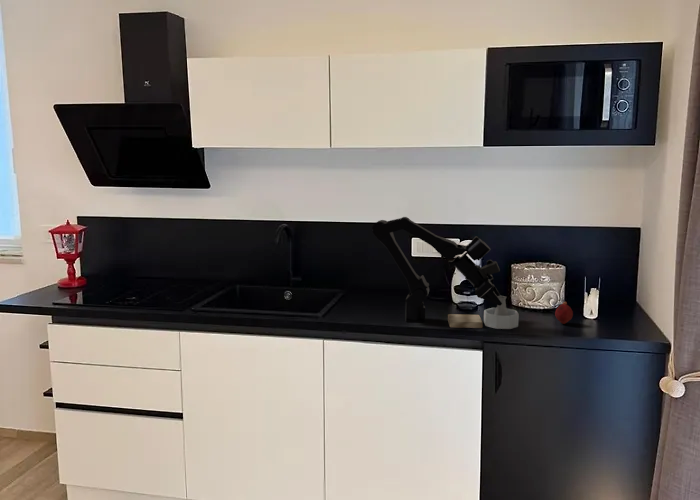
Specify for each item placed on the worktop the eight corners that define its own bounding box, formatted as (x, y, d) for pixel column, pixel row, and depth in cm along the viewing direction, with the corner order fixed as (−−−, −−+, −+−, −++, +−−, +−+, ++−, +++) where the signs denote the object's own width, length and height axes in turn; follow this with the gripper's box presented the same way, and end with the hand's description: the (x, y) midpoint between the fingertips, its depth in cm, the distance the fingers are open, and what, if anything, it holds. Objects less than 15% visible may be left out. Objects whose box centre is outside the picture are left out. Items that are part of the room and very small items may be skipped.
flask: (495, 320, 228) (496, 293, 227) (514, 324, 224) (515, 296, 222) (486, 325, 223) (487, 297, 221) (505, 328, 218) (506, 300, 217)
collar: (486, 328, 218) (487, 315, 217) (482, 319, 229) (482, 307, 229) (519, 329, 217) (520, 316, 217) (514, 320, 228) (514, 308, 228)
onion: (562, 327, 220) (563, 304, 219) (551, 322, 225) (552, 300, 224) (575, 325, 222) (577, 302, 221) (564, 321, 227) (565, 299, 226)
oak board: (450, 327, 220) (450, 321, 219) (447, 319, 230) (447, 314, 229) (482, 327, 219) (482, 322, 219) (478, 320, 229) (478, 314, 228)
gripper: (486, 258, 212) (519, 292, 211) (486, 249, 230) (517, 280, 229) (461, 280, 214) (494, 314, 214) (463, 270, 232) (494, 301, 232)
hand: (500, 301), depth 222 cm, fingers open, 9 cm apart
